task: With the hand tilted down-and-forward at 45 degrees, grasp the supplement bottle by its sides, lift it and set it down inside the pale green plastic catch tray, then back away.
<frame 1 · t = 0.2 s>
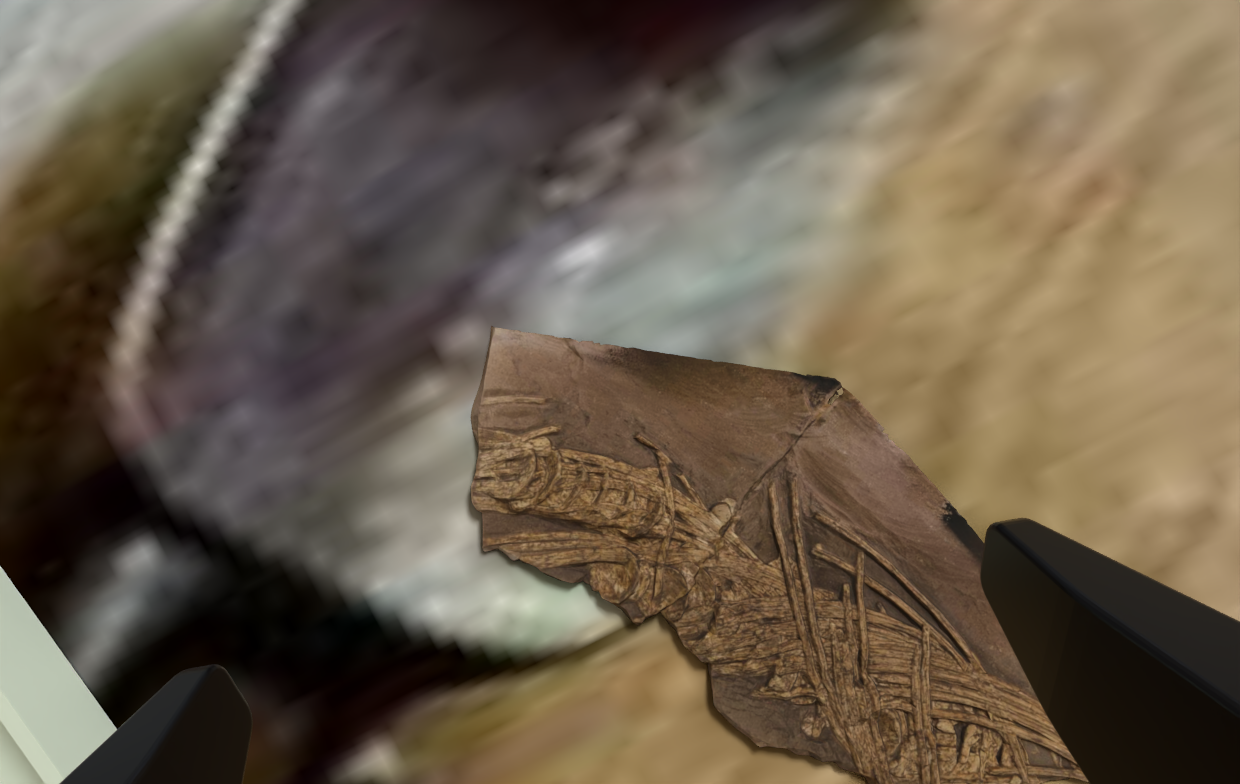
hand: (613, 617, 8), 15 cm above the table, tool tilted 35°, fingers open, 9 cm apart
wooden fragment: (807, 564, 24), on the table
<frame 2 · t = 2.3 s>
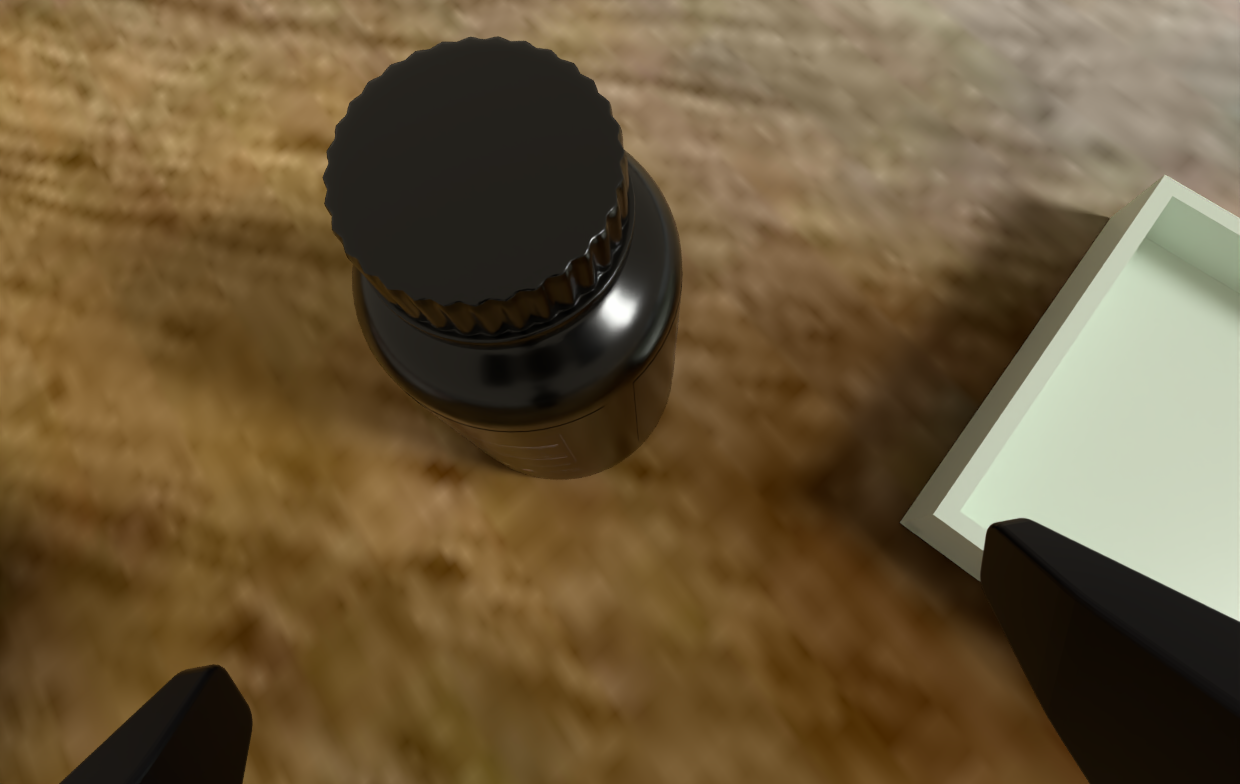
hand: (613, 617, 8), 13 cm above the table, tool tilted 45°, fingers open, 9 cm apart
catch tray: (1200, 487, 21), on the table
supplement bottle: (563, 379, 23), on the table
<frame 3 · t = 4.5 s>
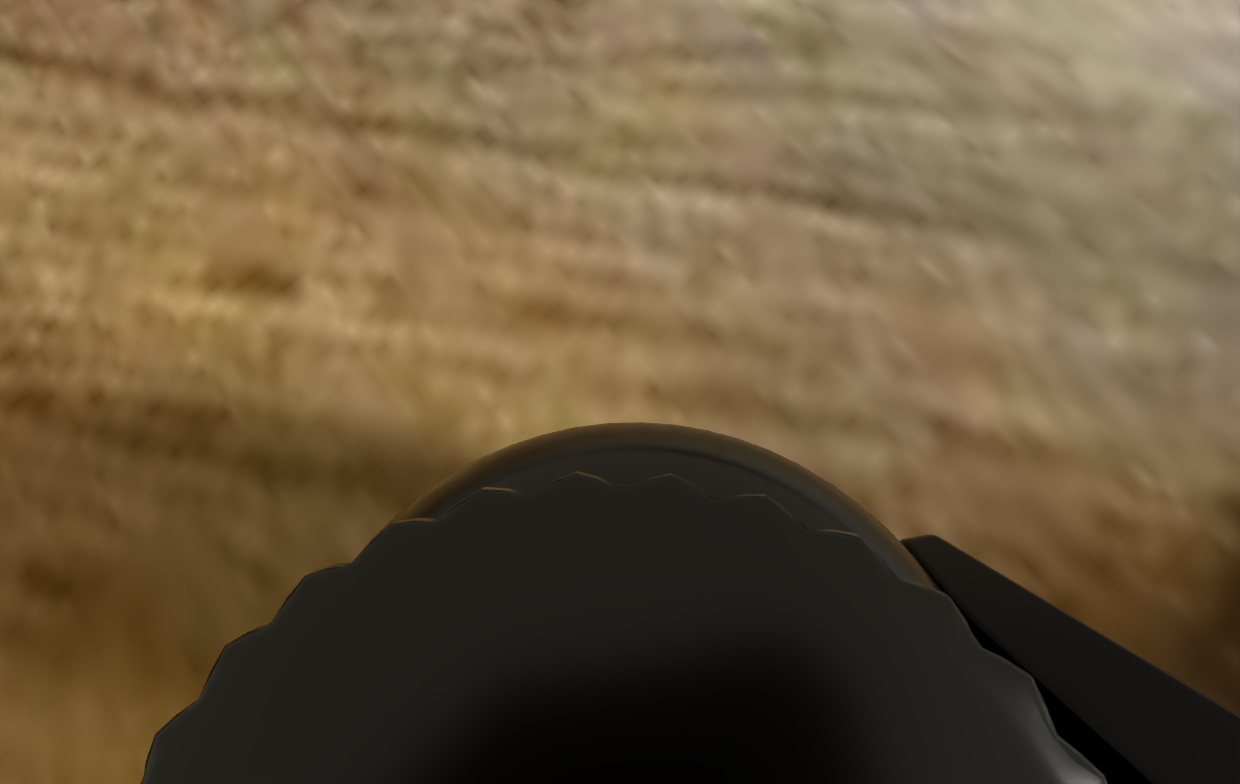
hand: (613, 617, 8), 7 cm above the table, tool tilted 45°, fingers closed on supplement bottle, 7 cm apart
supplement bottle: (640, 672, 15), on the table, touching gripper
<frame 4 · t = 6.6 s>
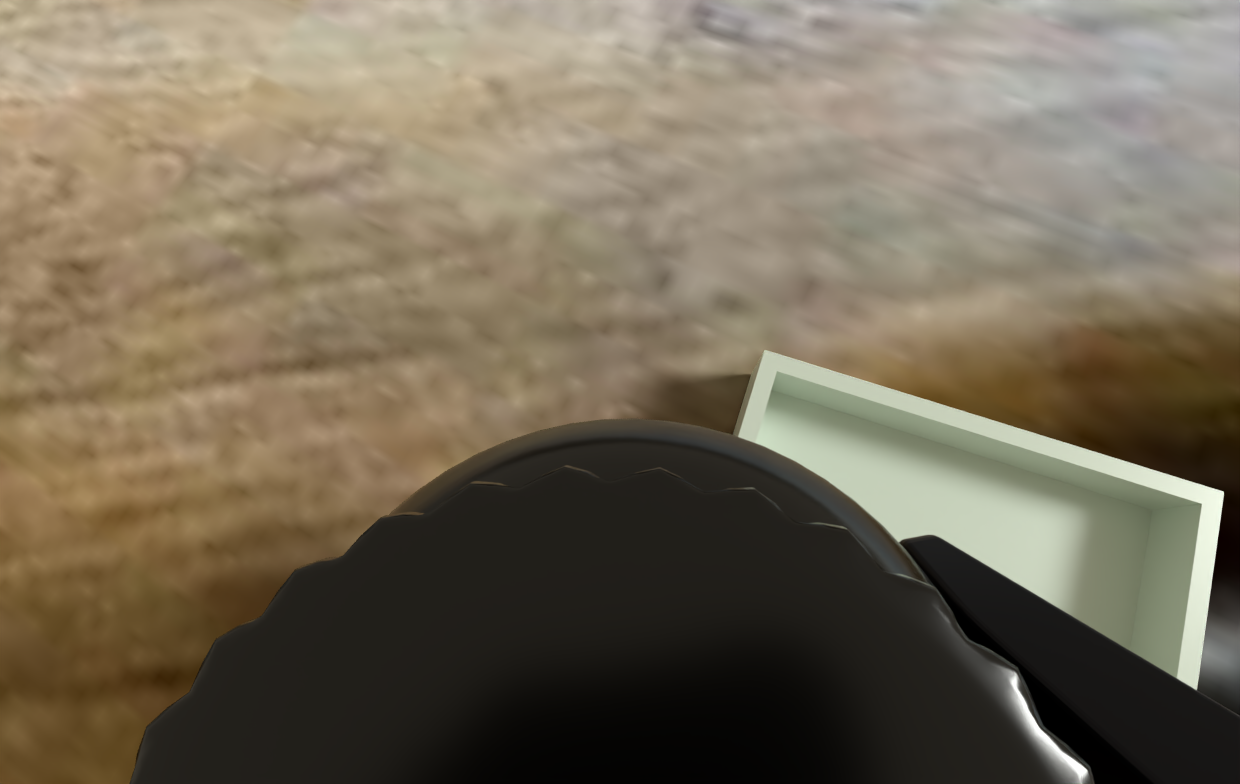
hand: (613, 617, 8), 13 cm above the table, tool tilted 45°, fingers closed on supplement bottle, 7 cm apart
catch tray: (900, 639, 21), on the table
supplement bottle: (638, 669, 15), point 6 cm above the table, touching gripper
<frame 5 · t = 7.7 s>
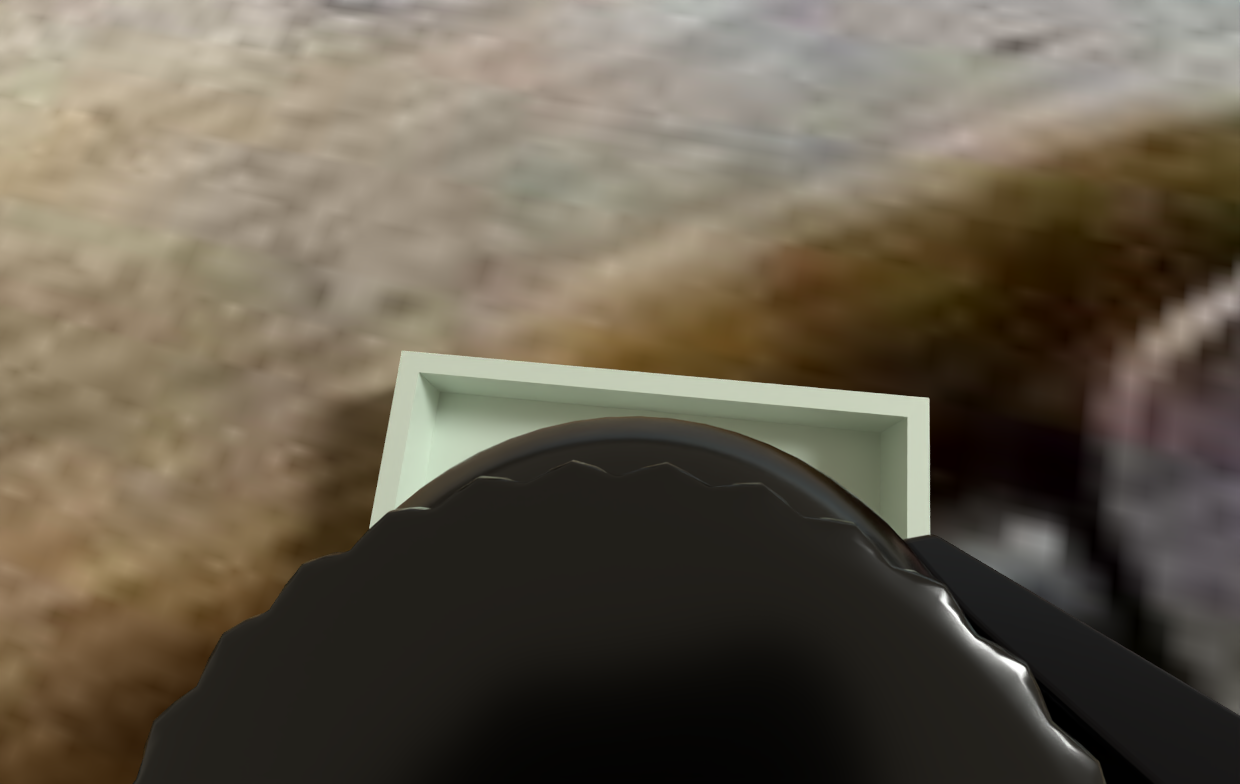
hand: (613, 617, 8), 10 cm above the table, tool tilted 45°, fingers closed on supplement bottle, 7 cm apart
catch tray: (636, 641, 18), on the table
supplement bottle: (640, 668, 15), point 3 cm above the table, touching gripper
when the fingers open (8 cm above the table, at t = 8.5 s): supplement bottle drops 1 cm, resting on catch tray.
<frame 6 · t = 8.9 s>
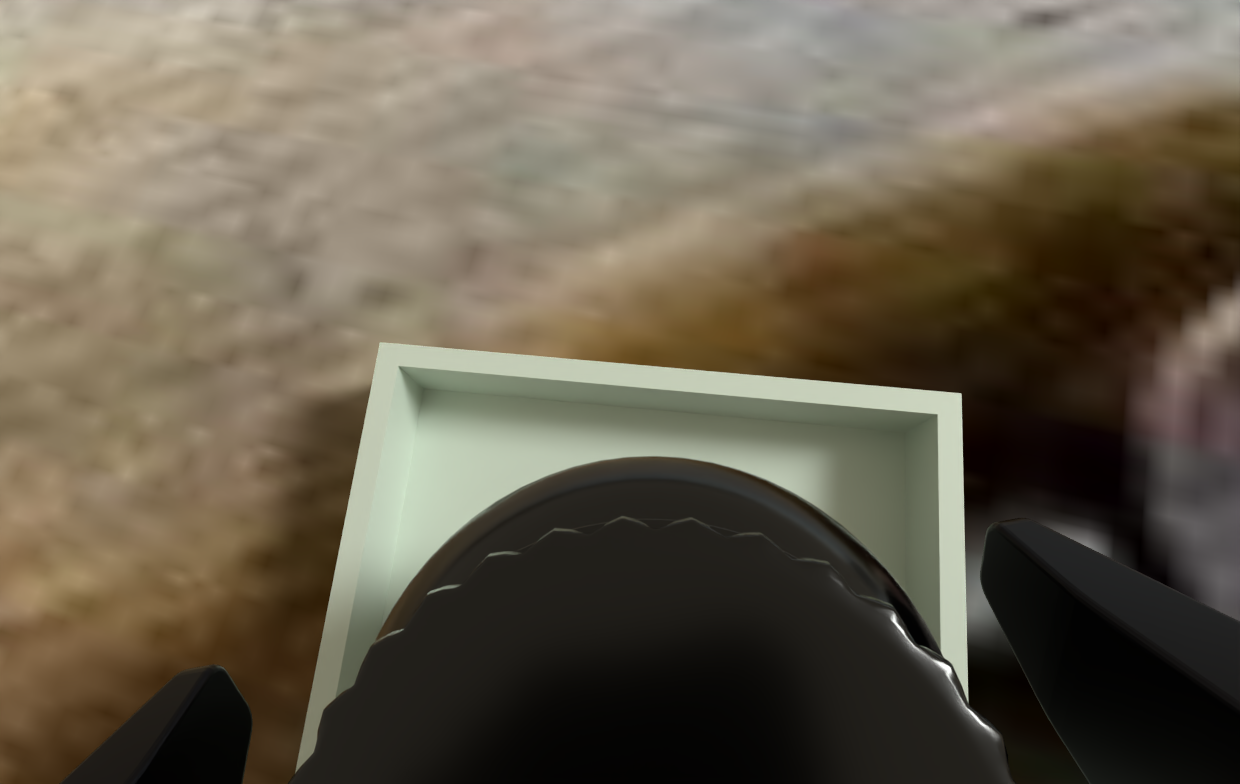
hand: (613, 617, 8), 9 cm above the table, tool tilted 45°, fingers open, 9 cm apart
catch tray: (637, 662, 16), on the table
supplement bottle: (649, 672, 16), resting on catch tray
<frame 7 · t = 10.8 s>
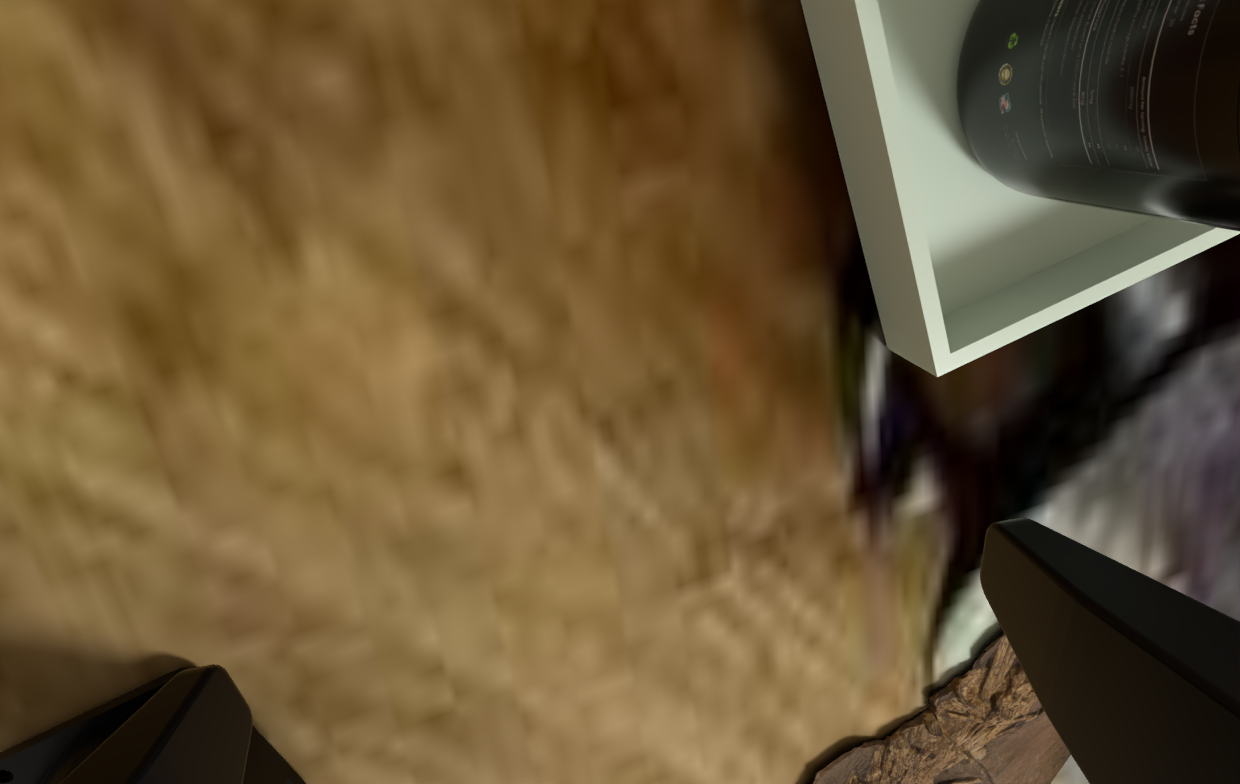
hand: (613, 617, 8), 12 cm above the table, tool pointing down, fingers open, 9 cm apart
catch tray: (1046, 50, 19), on the table
supplement bottle: (1055, 62, 19), resting on catch tray
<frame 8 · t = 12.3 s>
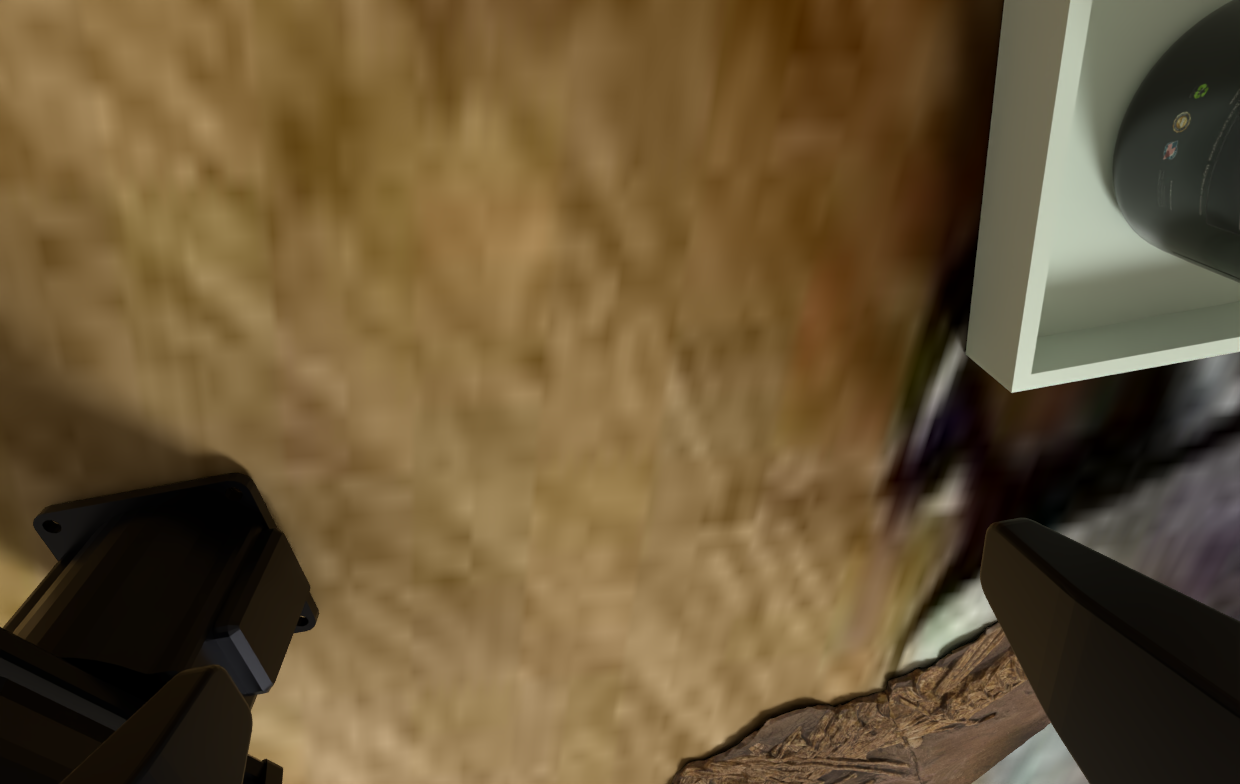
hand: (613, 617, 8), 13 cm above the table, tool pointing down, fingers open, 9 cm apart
catch tray: (1213, 109, 19), on the table
supplement bottle: (1219, 123, 19), resting on catch tray
wooden fragment: (838, 755, 33), on the table
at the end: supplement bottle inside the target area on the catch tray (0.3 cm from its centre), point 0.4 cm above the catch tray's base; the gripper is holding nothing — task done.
